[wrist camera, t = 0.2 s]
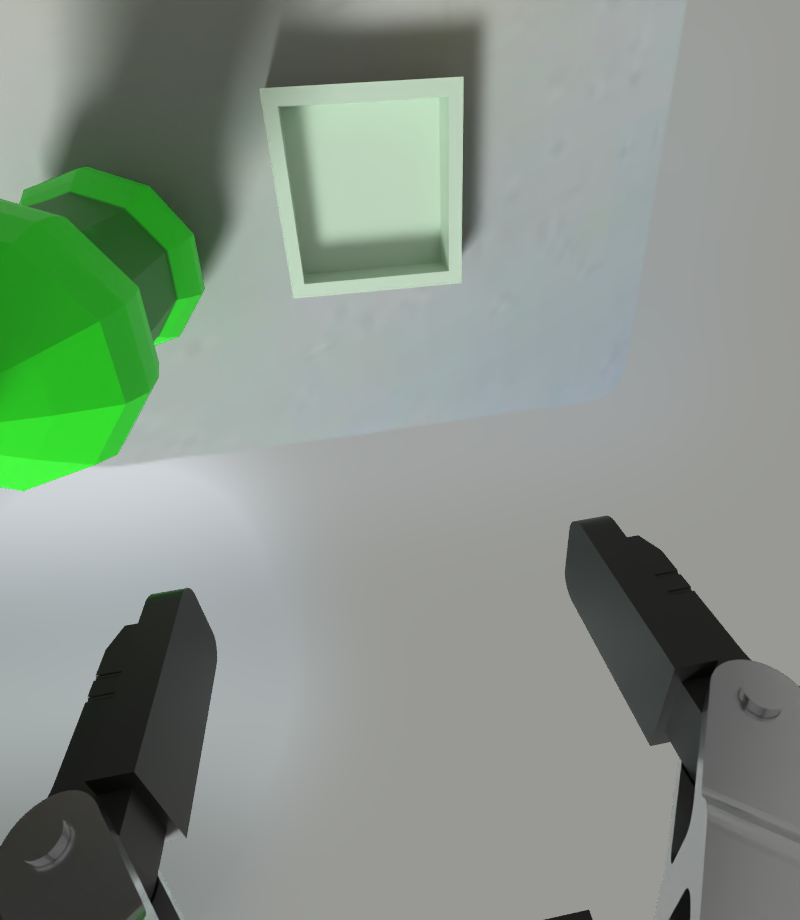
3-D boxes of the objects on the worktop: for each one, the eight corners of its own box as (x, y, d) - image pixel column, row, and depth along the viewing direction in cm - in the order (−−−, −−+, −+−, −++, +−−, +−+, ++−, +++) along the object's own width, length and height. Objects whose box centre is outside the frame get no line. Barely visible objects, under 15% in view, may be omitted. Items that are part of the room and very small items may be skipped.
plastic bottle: (15, 279, 32) (-511, 557, 12) (75, 114, 29) (-554, 94, 8) (174, 361, 37) (-7, 674, 16) (245, 227, 33) (128, 410, 12)
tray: (263, 91, 29) (258, 88, 26) (449, 80, 30) (463, 76, 27) (294, 284, 35) (293, 298, 32) (449, 270, 36) (461, 283, 33)
